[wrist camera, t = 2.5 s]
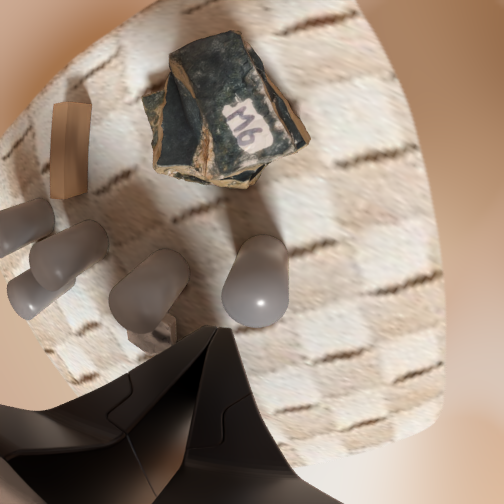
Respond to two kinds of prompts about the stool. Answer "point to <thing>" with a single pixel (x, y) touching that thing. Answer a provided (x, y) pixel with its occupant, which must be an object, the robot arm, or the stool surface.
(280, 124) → the rock
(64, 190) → the bar
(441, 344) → the stool surface
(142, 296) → the spacers
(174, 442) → the robot arm
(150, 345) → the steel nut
